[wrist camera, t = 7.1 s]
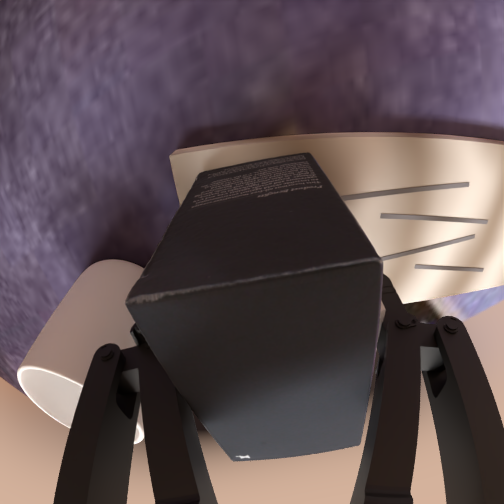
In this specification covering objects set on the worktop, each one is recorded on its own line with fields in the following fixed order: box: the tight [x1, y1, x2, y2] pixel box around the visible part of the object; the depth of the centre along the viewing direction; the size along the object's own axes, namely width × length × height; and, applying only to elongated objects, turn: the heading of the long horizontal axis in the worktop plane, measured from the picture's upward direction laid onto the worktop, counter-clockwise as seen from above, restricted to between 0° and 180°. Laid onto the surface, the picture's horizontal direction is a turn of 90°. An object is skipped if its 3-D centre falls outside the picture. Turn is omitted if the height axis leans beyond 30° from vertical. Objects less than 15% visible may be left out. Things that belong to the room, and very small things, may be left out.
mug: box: [17, 259, 144, 444], centre depth 19 cm, size 9×12×11 cm
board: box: [169, 132, 504, 304], centre depth 18 cm, size 26×12×2 cm, turn 97°
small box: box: [125, 152, 383, 461], centre depth 13 cm, size 11×6×10 cm, turn 12°
